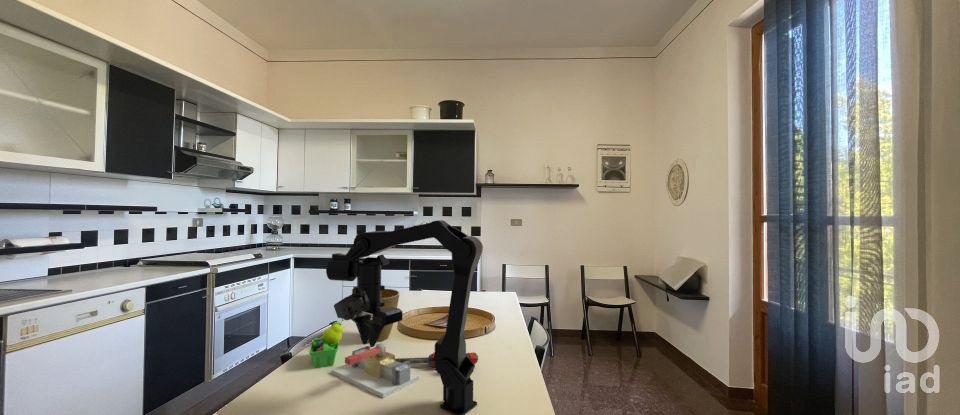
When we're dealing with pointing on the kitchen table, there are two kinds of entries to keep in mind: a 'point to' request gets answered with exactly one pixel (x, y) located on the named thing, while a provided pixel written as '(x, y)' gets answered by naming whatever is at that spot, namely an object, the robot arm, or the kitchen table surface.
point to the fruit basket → (326, 346)
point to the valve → (472, 357)
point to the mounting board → (370, 380)
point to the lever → (365, 354)
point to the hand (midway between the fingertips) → (368, 345)
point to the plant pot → (390, 300)
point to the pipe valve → (384, 367)
